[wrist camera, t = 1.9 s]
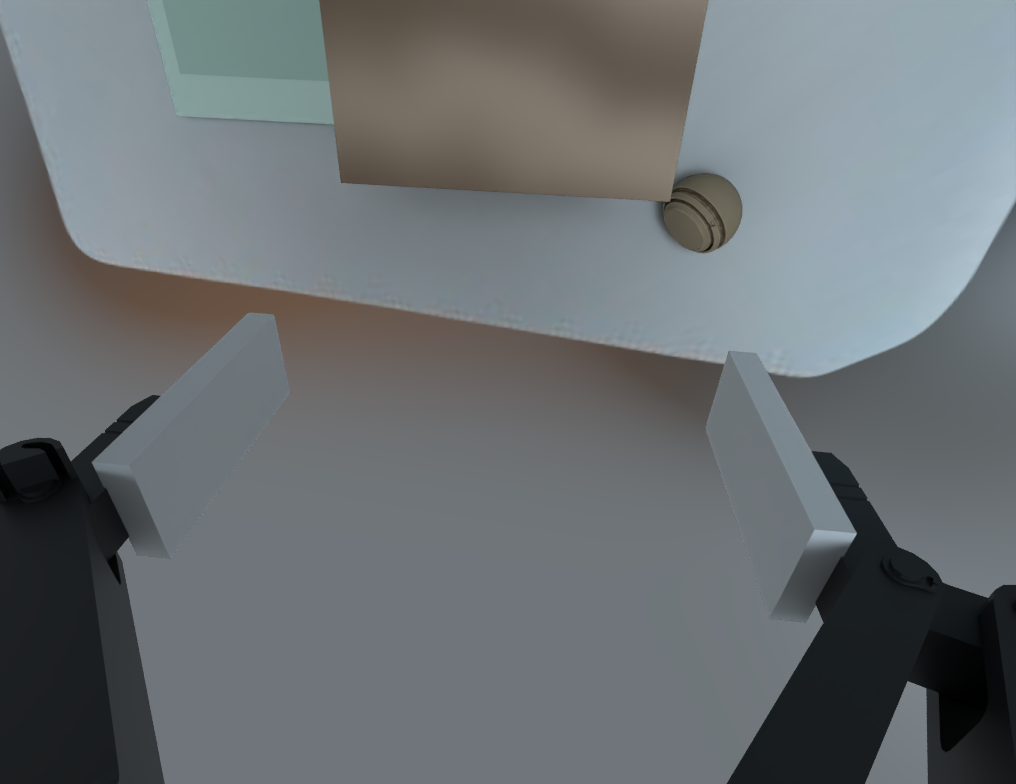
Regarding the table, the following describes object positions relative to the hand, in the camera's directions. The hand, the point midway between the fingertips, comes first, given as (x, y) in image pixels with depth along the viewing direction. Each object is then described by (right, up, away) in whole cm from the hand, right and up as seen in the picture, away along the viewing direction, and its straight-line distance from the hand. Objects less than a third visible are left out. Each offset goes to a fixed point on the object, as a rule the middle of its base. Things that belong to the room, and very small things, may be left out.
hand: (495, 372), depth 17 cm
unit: (+2, +22, +17) cm, 28 cm away
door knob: (+13, +13, +22) cm, 29 cm away
